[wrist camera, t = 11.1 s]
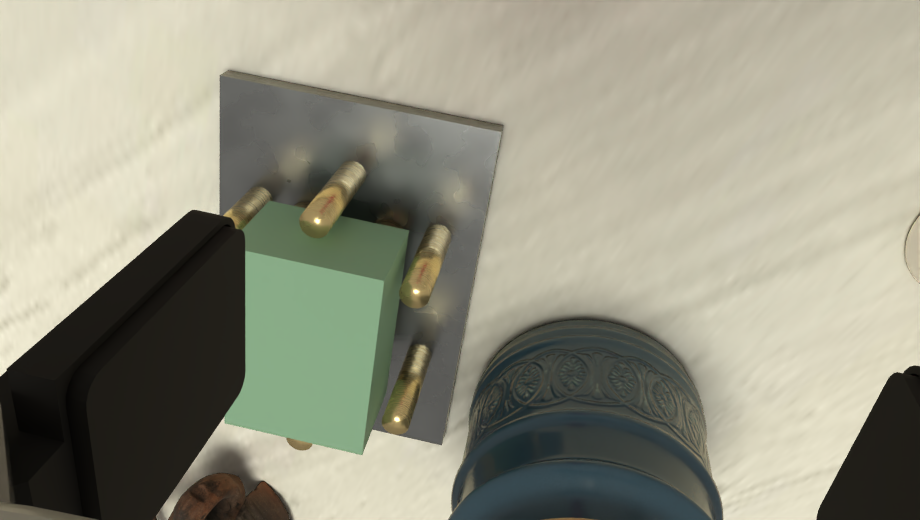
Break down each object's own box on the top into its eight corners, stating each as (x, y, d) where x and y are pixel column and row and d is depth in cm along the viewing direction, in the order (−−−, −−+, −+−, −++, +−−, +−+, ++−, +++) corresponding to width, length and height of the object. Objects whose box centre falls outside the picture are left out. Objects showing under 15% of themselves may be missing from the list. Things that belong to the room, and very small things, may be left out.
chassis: (503, 125, 37) (485, 178, 31) (444, 434, 47) (422, 520, 41) (228, 70, 38) (158, 111, 32) (226, 384, 48) (172, 461, 42)
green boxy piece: (409, 230, 37) (384, 280, 33) (386, 392, 42) (362, 455, 37) (269, 200, 37) (226, 246, 33) (262, 364, 42) (224, 423, 38)
